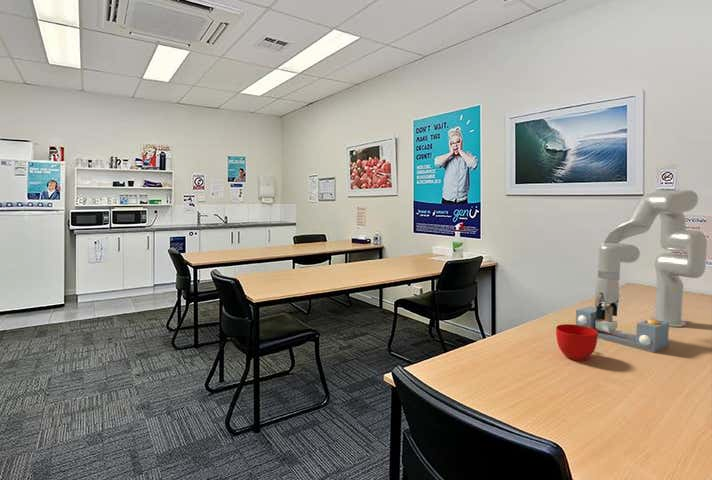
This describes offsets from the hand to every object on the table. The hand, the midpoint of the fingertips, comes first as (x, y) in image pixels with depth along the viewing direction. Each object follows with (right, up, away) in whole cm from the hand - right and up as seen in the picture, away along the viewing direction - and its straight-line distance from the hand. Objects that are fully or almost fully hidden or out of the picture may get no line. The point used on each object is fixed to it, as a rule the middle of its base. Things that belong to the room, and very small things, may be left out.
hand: (606, 317), depth 165 cm
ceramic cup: (-24, -10, -20) cm, 33 cm away
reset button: (+9, -2, -14) cm, 17 cm away
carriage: (0, -6, +1) cm, 6 cm away
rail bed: (+3, -8, -4) cm, 9 cm away
